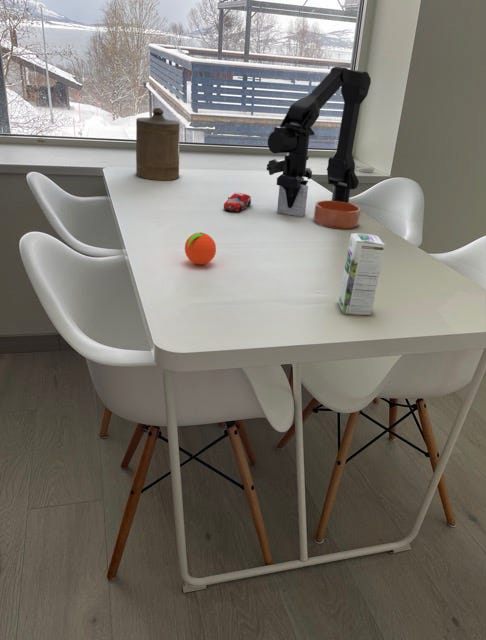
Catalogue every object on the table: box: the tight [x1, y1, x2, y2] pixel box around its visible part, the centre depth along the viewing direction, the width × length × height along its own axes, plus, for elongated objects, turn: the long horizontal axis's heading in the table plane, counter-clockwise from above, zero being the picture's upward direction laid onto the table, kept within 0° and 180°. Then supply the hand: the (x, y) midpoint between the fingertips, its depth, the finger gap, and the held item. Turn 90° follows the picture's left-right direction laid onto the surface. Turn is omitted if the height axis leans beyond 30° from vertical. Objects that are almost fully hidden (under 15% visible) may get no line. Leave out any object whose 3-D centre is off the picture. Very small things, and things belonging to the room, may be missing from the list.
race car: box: [223, 192, 252, 213], centre depth 177 cm, size 13×5×4 cm, turn 160°
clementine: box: [184, 231, 217, 266], centre depth 128 cm, size 8×7×7 cm
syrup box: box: [338, 233, 386, 316], centre depth 112 cm, size 6×6×14 cm
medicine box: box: [276, 184, 309, 218], centre depth 176 cm, size 8×4×9 cm, turn 71°
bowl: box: [313, 200, 361, 230], centre depth 172 cm, size 13×13×5 cm
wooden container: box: [135, 107, 181, 181], centre depth 201 cm, size 15×15×22 cm
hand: (291, 206), depth 177 cm, fingers closed on medicine box, 4 cm apart
